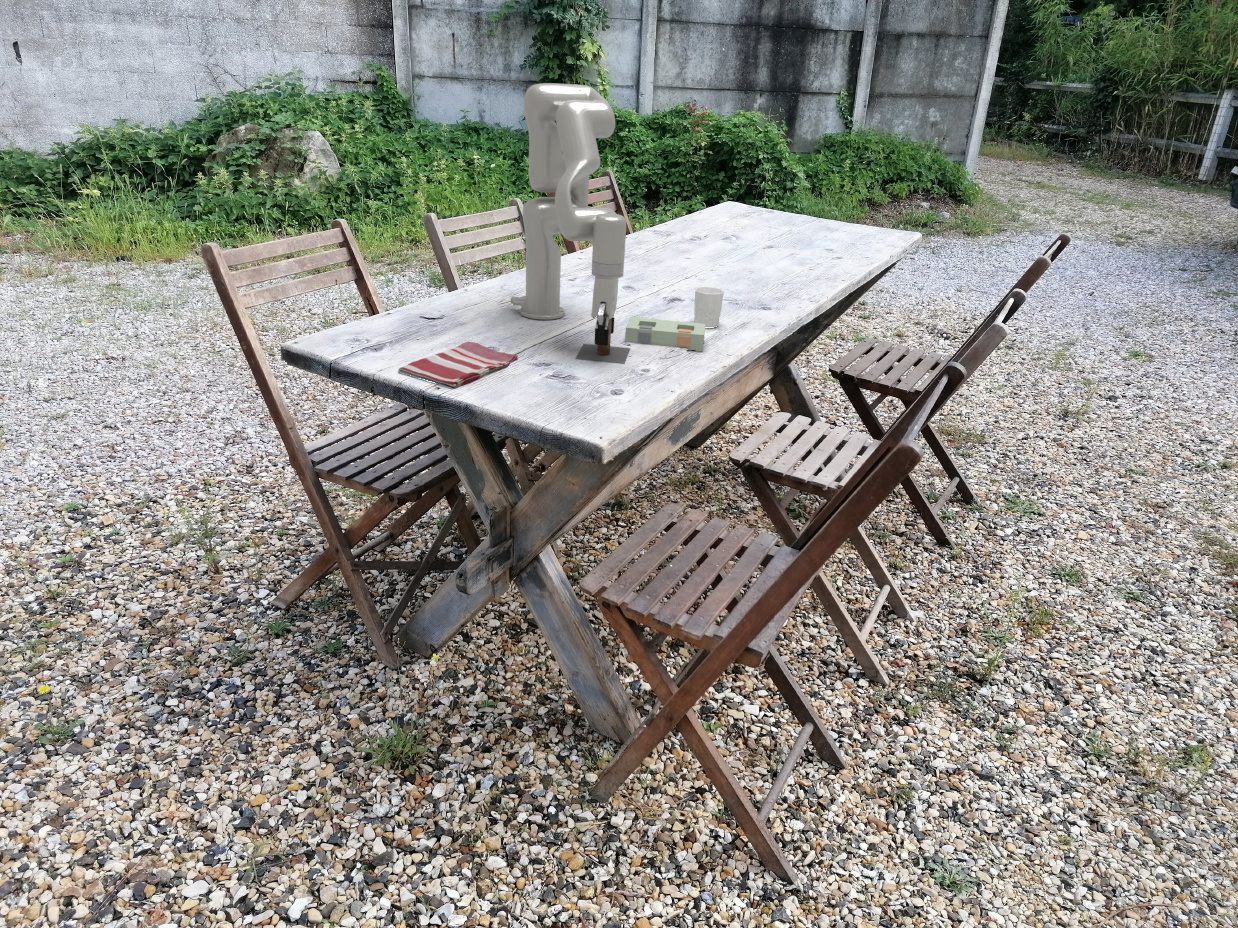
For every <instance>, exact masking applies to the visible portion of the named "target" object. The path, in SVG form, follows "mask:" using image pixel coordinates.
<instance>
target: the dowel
mask: <svg viewBox="0 0 1238 928" xmlns="http://www.w3.org/2000/svg"><path fill="white" fill-rule="evenodd" d="M605 323H606V320H605ZM611 324H612V318H611V319H610V320H609V322H608V329H609V334H608V345H607V346H605V345H597V354H598V355H602V356H607V355H610V346H611V343H612V342H611V339H612V338H611V337H612V334H611Z"/></svg>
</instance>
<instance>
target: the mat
mask: <svg viewBox="0 0 1238 928" xmlns="http://www.w3.org/2000/svg"><path fill="white" fill-rule="evenodd" d="M630 351H631V347H623V346H622V347H621V346H612V345H610V355H607V356H602V355H598V354H597V345H595V344H589V343H583V344H582V346H581V347H580V349H579V351H578V353H577V355H576V356H575V358H574V360H580V361H591V362H599V363H600V362H602V363H611V364H620V365H625V363H626V361H627V359H628V356H629V354H630Z"/></svg>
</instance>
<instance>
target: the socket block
mask: <svg viewBox="0 0 1238 928" xmlns="http://www.w3.org/2000/svg"><path fill="white" fill-rule="evenodd" d="M705 326H706V324H702V323H694V322H687V321H680V320H679V321H678V320H669V319H668V320H666V319H658V318H657V319H656V318H649V317H648V318H647V317H635V316H630V318H629V319H628V322H627V323H626V327H625V335H624V336H625V339H624V342H625V343H634V344H643V345H644V344H645V345H653V346H654V345H655V346H666V347H674V348H676V347H677V348H685V349H686V350H687V349H688V350H696V351H695V352H697V351H702V352H703V351H704V350H703V349H704V344H703V343H704V342H705V333H706V328H705Z"/></svg>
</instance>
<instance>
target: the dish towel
mask: <svg viewBox="0 0 1238 928" xmlns="http://www.w3.org/2000/svg"><path fill="white" fill-rule="evenodd" d="M518 358H519V357H518V354H513V353H505V352H502V351H501V352H500V351H497V350H495V349H492V348H490V347H489V348H488V347H487V346H485V345H482V344H480V343H478V342H474V341H466V342H465V341H464V342H463V343H461V344H459V345H458V346H456V347H453V348H451V349H447V350H446V351H445V350H444V351H442V352H439V353H435V354H433V355H430V356H428V357H424V358H420V359H418V360H414V361H412V362H410V363H408V364H406V365H404V366H402V367H399V368H398V371H397V372H398V373H399V372H400V374H402V373H404V374H403V375H405V374H407V375H406V376H408V375H411V376H414V377H417V378H421V379H425V380H428V381H432V382H435V383H436V384H438V385H437V386H439V385H440V386H441V387H443V386H444V387H443V388H446V387H447V389H449V388H450V389H451V388H452V389H455V388H458V387H462V386H463V387H464V386H466V385H468V384H471V383H474V382H476V381H478V380H479V379H481V378H483V377H486V376H488V375H492V374H494V373H496V372H498V371H501V370H503V369H505V368H508V367H509V366H510V365H511V363H513V362H515V361H517V360H519V359H518ZM411 376H410V377H411ZM414 377H413V378H414ZM417 378H416V379H417ZM436 384H435V385H436ZM452 389H451V390H452Z"/></svg>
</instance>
